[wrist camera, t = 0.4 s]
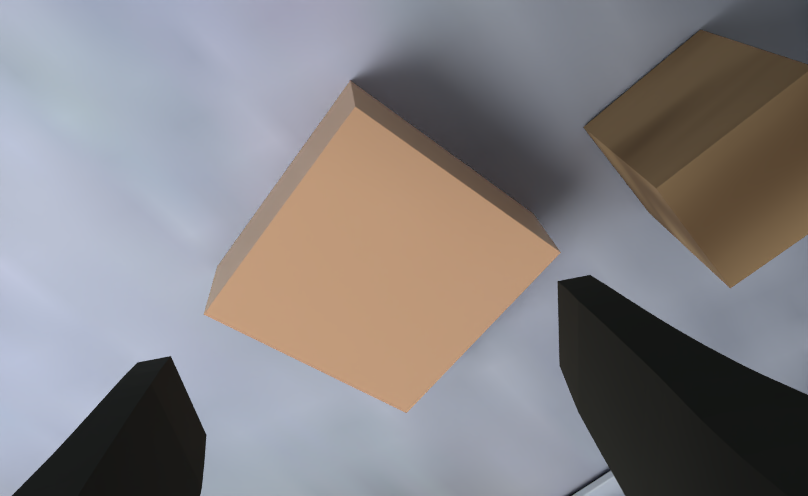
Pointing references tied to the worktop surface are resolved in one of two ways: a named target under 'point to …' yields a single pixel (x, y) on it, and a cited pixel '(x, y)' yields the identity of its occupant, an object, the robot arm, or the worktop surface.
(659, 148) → the walnut block
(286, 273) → the peach slab
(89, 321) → the worktop surface
